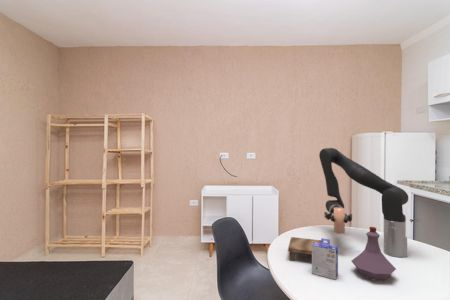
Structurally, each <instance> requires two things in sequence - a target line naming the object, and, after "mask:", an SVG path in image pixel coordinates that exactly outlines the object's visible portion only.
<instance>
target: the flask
mask: <svg viewBox="0 0 450 300" xmlns="http://www.w3.org/2000/svg"><path fill="white" fill-rule="evenodd" d="M368 230H369V231H367V232H366V233H365V235H366V236H367V241H366V245H365V247H364V250H362V251H361V253H359V254H358V255H357V256H355V257H354V258H353V259H352V260H351V263H352V264H353V265H354V266H355V268H356V269H357V270H358V272H359V273H360V274H361V275H362V276H363V277H364V278H366V279H370V280H372V281H384V280H386V279H387V278H388V277H389V276H391V275H392V274H393V273H394V272H396V270H397V268H396V267H395V266H394V265H393V264H392V263H391V262H390V260H388V259H387V258H386V257H385V255H384V254H383V253H382V250H381V247H380V244H379V238H380V234H379V233H378V232H377V227H374V226H369V229H368Z"/></svg>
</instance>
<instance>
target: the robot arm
mask: <svg viewBox="0 0 450 300" xmlns="http://www.w3.org/2000/svg"><path fill="white" fill-rule="evenodd" d="M318 156H319V160H320V165H321V169H322V171H323V175H324V179H325V186H326V192H327V193H326V194H327V196H328V197H331V198H335V199H331V200H327V201H326V202H325V210H326V211H325V212H323V213H324V214H323V215H324V218H325V219H326V220H328V221H329V220H330V221H331V222H332V223H334V207H341V208H344V209H345V204H344V201H343V199H342V197H341V193H340V187H339V186H340V185H339V181H338V178H337V177H336V174H335V173H334V171H333V166H332V164H334V165H337V166H338V167H340V168H341V169H342V170H343V171H344V172H345V174H346V175H347V176H348V177H349V178H350V179H351V180H353V181H354V182H356V183H357V184H359V185H361V186H363V187H365V188H369V189H372V190H374V191H376V192H377V193H379V194H381V212H382V215H383V253H384V254H386V255H388V256H392V257H395V258H407V257H408V237H407V235H406V234H407V233H406V232H407V231H406V230H407V229H406V228H407V227H406V225H407V223H406V220H407V219H406V215H405V214H404V212H403V211H404V210H403V205H406V204H407V203H408V201H409V196H408V195H409V194H408V193H407V192H406V191H405V190H404V189H403V188H401V187H398V186H397V185H395V184H393V183H391V182H389V181H387V180H384V178H382V177H380V176H379V175H378V174H376V173H374V172H372V171H371V170H369V169H368V168H366V167H365V166H363V165H361V164H360V163H357V162H356V161H354V160H352V159H350V158H349V157H348V156H346V155H344V154H343V153H342V152H341V151H339V150H338V149H336V148H333V147H325V148H323V149H321V150H320V151H319V155H318ZM352 220H353V214H352V213H349V214H347V213H345V224H347V223H349V222H350V223H351V222H352Z"/></svg>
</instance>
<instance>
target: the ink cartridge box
mask: <svg viewBox="0 0 450 300" xmlns="http://www.w3.org/2000/svg"><path fill="white" fill-rule="evenodd" d="M320 240H321V243H316V242H315V243H314V244H313V245H312V254H311V274H313V275H316V276H320V277H324V278H329V279H332V280H337V277H338V276H339V246H338V245H333V244H330V243H331V241H330V239H328V238H327V239H326V238H323V237H322V238H321V239H320ZM322 241H323V242H322ZM324 241H325V242H324Z"/></svg>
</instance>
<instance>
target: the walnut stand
mask: <svg viewBox="0 0 450 300" xmlns="http://www.w3.org/2000/svg"><path fill="white" fill-rule="evenodd" d="M315 242H316V243H321V239H320V240H319V239H311V238H305V237H295V236H294V237H293V236H291V237H290V240H289V245H288V248H287V251H288V252H289V253H288V254H289V256H288V257H289V261H292V262H294V261H295V253H299V254H306V255H312V245H313V244H314V243H315ZM322 242H324V241H322Z"/></svg>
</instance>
